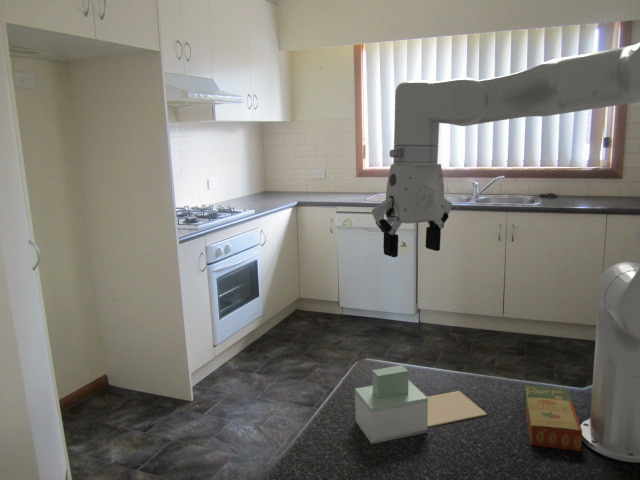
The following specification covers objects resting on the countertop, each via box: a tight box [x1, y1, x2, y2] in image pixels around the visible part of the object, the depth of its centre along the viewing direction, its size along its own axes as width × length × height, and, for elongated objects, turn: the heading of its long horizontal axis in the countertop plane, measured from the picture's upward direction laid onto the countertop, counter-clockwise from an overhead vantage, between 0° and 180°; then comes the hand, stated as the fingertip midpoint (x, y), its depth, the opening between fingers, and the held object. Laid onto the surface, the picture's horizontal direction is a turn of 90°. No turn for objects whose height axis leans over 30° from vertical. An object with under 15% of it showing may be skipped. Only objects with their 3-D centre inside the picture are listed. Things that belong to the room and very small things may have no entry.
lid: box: [354, 365, 428, 413], centre depth 97 cm, size 11×8×6 cm
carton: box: [522, 384, 582, 452], centre depth 98 cm, size 8×16×4 cm, turn 164°
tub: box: [354, 392, 429, 445], centre depth 98 cm, size 11×8×6 cm
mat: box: [426, 390, 488, 428], centre depth 105 cm, size 13×10×1 cm
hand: (412, 252), depth 95 cm, fingers open, 9 cm apart
